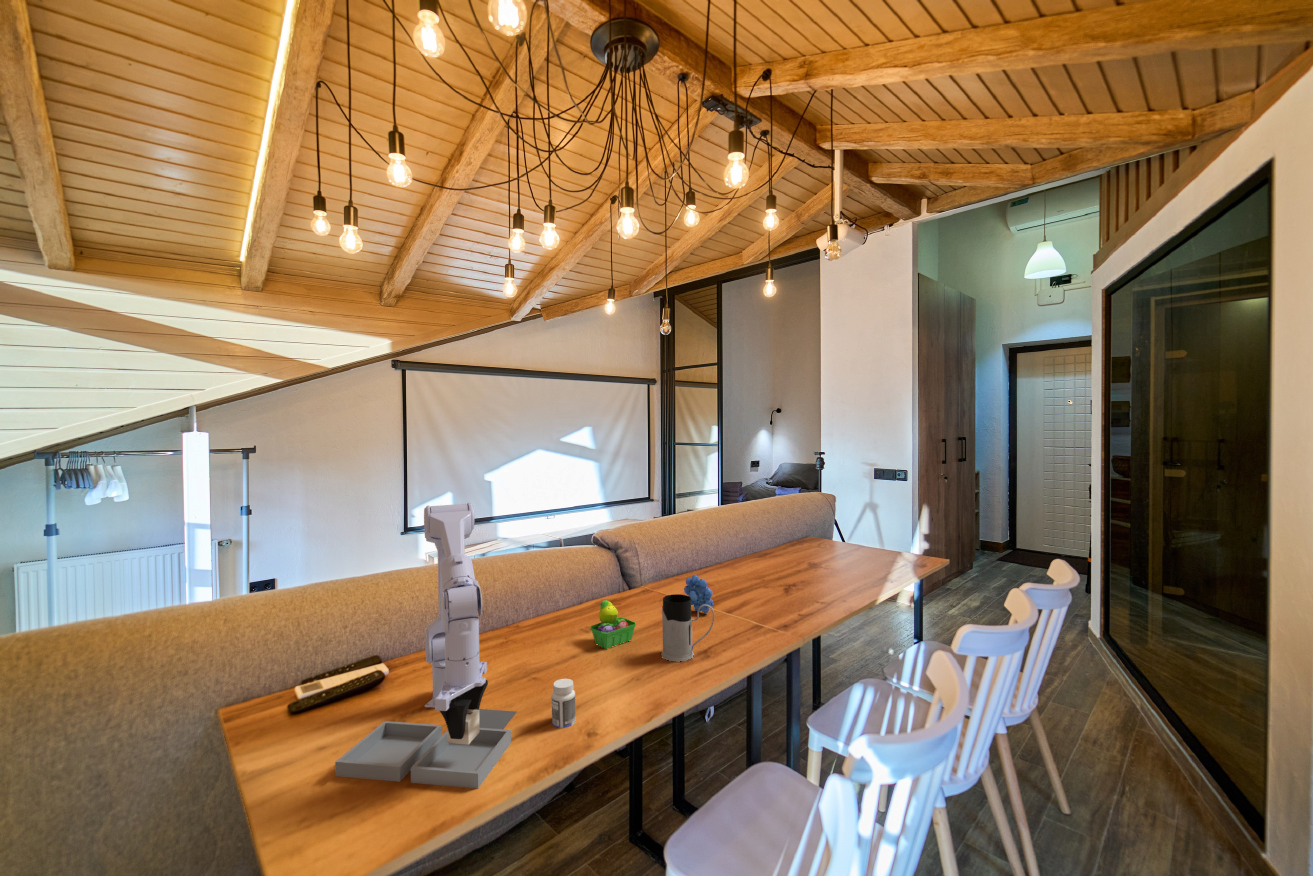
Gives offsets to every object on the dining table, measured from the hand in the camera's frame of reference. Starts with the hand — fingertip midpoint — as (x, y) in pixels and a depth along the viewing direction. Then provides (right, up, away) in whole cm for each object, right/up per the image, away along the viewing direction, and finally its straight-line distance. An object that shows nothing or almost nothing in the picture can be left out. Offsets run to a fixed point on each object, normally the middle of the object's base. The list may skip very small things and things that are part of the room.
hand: (463, 730), depth 94 cm
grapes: (+48, -5, +79) cm, 92 cm away
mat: (-1, -6, +13) cm, 14 cm away
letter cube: (0, -1, 0) cm, 1 cm away
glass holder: (+43, -6, +45) cm, 62 cm away
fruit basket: (+22, -6, +55) cm, 60 cm away
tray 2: (0, -6, 0) cm, 6 cm away
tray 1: (-14, -6, +2) cm, 15 cm away
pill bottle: (+16, -6, +13) cm, 21 cm away
